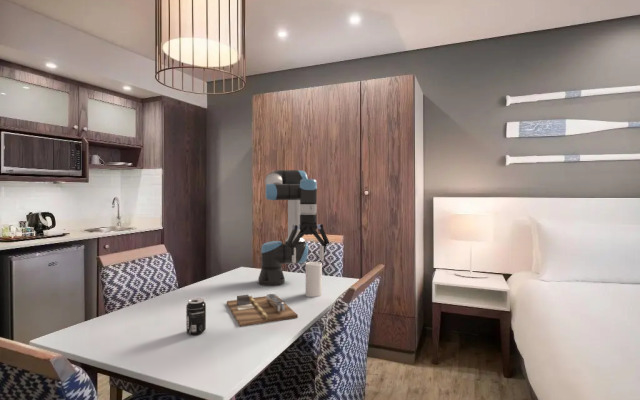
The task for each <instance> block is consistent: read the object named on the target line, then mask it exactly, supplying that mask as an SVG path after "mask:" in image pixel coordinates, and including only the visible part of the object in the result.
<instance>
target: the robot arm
mask: <svg viewBox="0 0 640 400" xmlns="http://www.w3.org/2000/svg"><path fill="white" fill-rule="evenodd" d="M264 184H265V199H266V200H268V201H287V205H288V206H287V210H288V211H287V216H288V217H287V238H286V239H285V243H283V242H282V241H281V240H272V241H267V242H264V243H263V244H262V245H261V250H260V253H261V254H260V255H261V262H260V263H261V269H260V272H259V275H258V279H257V280H258V281H257V283H258V285H261V286H272V287H273V286H279V285H282V284H283V285H284V283H285V281H286V280H285V279H286V278H285V275H284V273H283V269H282V266H283V265H284V264H285V265H287V264H292V265H293V264H304V263H305V262H307V259H308V255H309V244H308V242H306V239H305V238H304V236H308V235H313V236H314V238H315V239H316V240H317V241H318V242H319V244H320V245H319V260H320V261H324V259H325V256H324V255H325V254H324V253H326V247H327V245H329V244H330V241H329V238H328V237H327V236H328V235H327V234H326V232H325V229H324V224H321V223H318V224H317V221H318V219H317V214H316V213H317V211H318V210H317V209H318V207H317V205H318V203H317V200H318V198H317V195H318V193H317V192H318V191H317V190H318V186H317V185H318V183H317V180H316V179H315V178H308V174H307V173H306V171H304V170H299V169H297V170H295V169H292V170H291V169H288V170H287V169H283V170H282V169H277V170H274V171H272V172H270V173H268V174H267V175H266V176H265V178H264ZM317 229H318V231H319V233H320V234H318V232H317ZM320 235H321V236H320Z"/></svg>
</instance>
